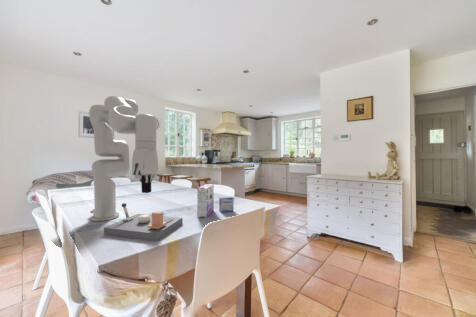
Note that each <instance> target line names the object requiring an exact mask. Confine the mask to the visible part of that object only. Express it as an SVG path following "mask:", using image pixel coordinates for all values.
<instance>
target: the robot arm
mask: <svg viewBox="0 0 476 317" xmlns="http://www.w3.org/2000/svg"><path fill="white" fill-rule="evenodd" d="M103 103H104V104H94V105H93V104H92V105H91V106H90V107H89V110H88V116H89V121H90V123H91V126H92V129H93V140H94V142H93V144H94V153H95V155H96V156H98V157H101V158H103V159H98V160H95V161H94V162H93V163H92V164H91V172H92V176H93V187H94V188H93V189H94V190H93V192H94V193H93V194H94V196H93V197H94V198H93V199H94V201H93V203H94V204H93V205H94V206H93V207H94V208H92V210H91V211H90V214H93V215H92V216H90V220H91V221H92V222H105V221H110V220H114V219H116V218H119V216H120V213H119V212H117V208H116V207H117V206H116V204H117V203H116V202H117V198H116V193H117V192H116V191H117V190H116V189H117V188H116V182H115V181H114V180H113V179H112V178H113V177H123V176H127V175H128V174H129V173H130V170H131V175H132V176H134V178H135V179H136V180H139V182H140V183H141V193H142V194H143V193H144V194H149V193H152V182H153V179H154V177H157V173H158V171H159V160H158V151H157V118H156V116H154V115H152V114H148V113H139V104H137V102H136V101H135V100H134V99H131V98H125V97H121V96H117V95H116V96H115V95H111V96H108V97H106V98H105V99H104V101H103ZM138 113H139V114H138ZM114 132H116V133H118V134H125V135H134V138H135V139H134V143H135V144H134V146H135V147H134V148H135V149H134V150H133V152H132V158H131V165H130V148H129V144H128V143H127V142H126V141H125V140H123V139H114ZM115 157H116V158H118V159H116V158H115ZM109 158H110V159H109ZM114 158H115V159H114ZM130 166H131V167H130ZM130 168H131V169H130Z"/></svg>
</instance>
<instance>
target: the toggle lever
mask: <svg viewBox="0 0 476 317" xmlns="http://www.w3.org/2000/svg"><path fill="white" fill-rule="evenodd" d="M121 208H123V211H124V215H125V217H126V218H129V217H130V215H129V212H128V209H127V203H126V202H123V203H122V204H121ZM126 218H125V219H126Z"/></svg>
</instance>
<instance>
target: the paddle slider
mask: <svg viewBox="0 0 476 317" xmlns="http://www.w3.org/2000/svg"><path fill="white" fill-rule="evenodd" d="M151 215H152V224H151V225H149V226H148V228H153V229H159V228H161V227H163V226H164V225H166V224H167V222H163V216H164V212H163V211H154V212H152V213H151Z"/></svg>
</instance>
